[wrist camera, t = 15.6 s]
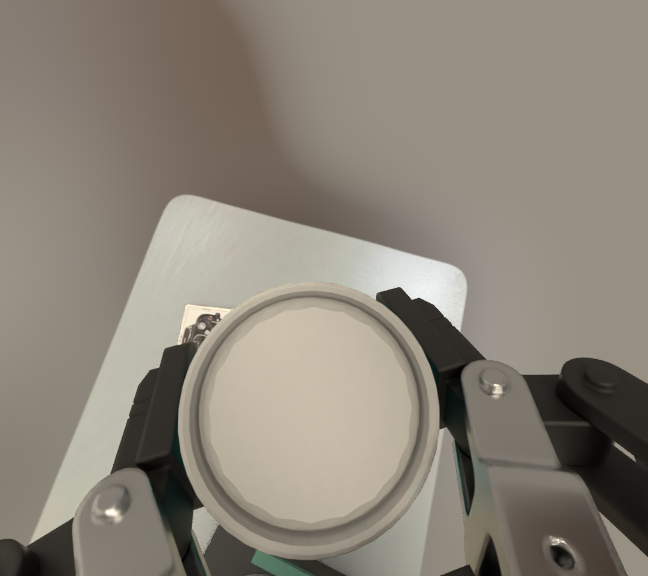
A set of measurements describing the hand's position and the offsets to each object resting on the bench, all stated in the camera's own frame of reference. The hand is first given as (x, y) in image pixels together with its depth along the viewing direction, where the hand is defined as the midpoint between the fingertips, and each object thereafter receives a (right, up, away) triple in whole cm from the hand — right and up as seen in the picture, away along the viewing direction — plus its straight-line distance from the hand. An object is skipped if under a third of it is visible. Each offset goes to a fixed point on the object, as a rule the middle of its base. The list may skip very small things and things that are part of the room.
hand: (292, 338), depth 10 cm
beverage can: (0, -4, +11) cm, 12 cm away
